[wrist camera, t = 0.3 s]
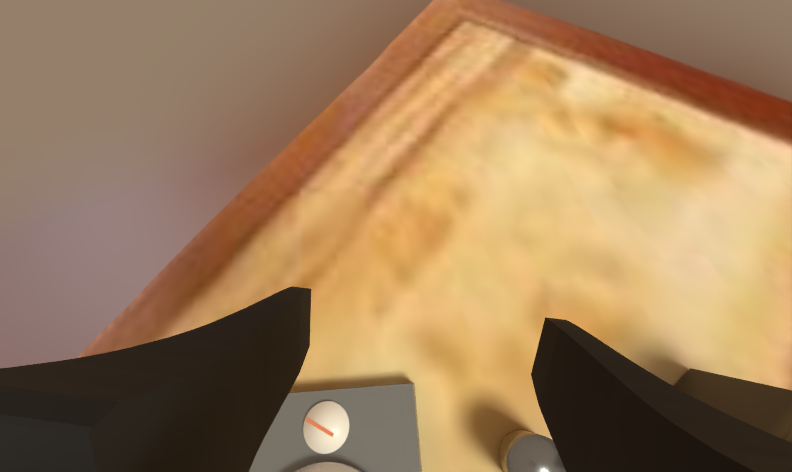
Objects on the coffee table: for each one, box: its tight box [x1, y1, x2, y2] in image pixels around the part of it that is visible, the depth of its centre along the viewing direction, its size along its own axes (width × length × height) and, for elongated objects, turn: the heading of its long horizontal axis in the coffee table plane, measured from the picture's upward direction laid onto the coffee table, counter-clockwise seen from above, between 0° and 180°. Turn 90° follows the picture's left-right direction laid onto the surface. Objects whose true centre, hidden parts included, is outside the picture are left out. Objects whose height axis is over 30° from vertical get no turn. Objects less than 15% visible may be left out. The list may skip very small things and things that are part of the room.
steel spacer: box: [499, 430, 566, 472], centre depth 31 cm, size 4×4×6 cm
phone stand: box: [674, 369, 792, 443], centre depth 27 cm, size 9×6×12 cm, turn 39°
